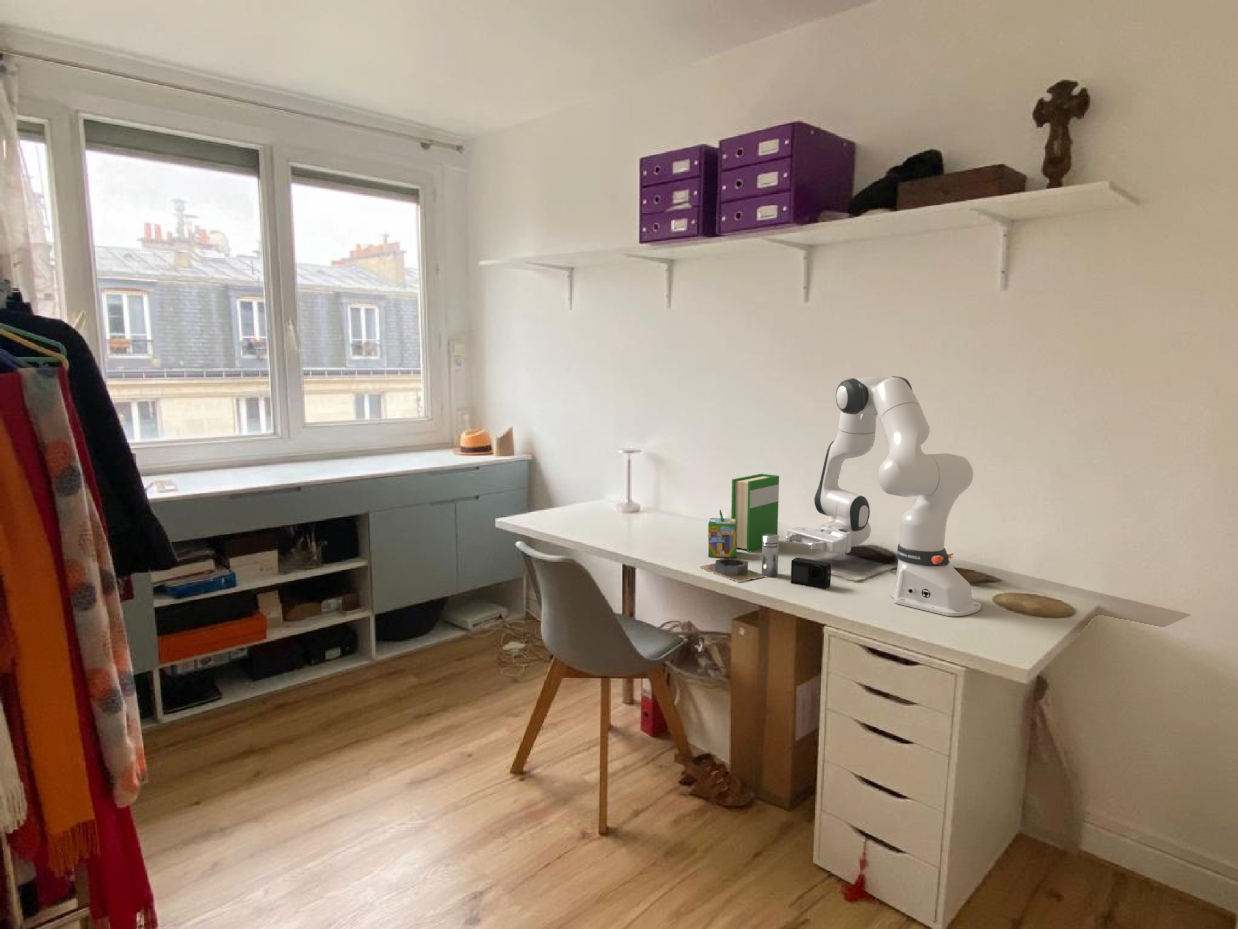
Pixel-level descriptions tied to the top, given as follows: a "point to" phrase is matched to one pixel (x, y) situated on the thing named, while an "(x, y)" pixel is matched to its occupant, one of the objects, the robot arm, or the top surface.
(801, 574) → the digital camera
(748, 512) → the hardback book
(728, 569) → the ring board
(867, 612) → the top surface
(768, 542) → the piston
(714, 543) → the chalk box
